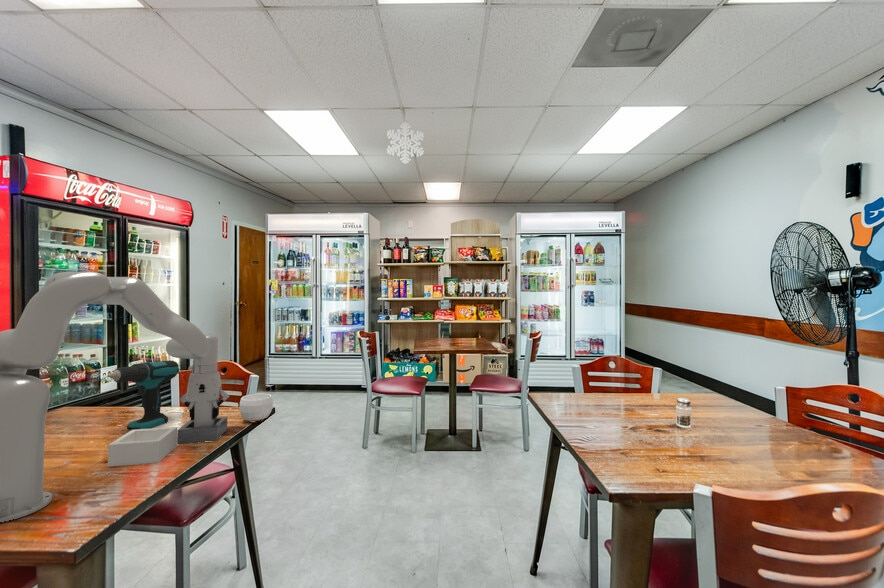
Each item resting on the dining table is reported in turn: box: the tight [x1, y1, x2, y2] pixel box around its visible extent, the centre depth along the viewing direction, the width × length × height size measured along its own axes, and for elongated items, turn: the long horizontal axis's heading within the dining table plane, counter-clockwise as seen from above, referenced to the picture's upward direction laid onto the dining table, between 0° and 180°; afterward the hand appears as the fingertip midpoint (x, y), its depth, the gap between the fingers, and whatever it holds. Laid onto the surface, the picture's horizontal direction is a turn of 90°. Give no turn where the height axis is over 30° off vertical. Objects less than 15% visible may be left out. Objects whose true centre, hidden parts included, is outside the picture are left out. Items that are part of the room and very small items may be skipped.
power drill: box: [106, 360, 180, 430], centre depth 144 cm, size 26×9×25 cm, turn 168°
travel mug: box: [194, 384, 215, 428], centre depth 135 cm, size 6×7×20 cm
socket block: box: [177, 416, 228, 445], centre depth 135 cm, size 12×12×5 cm
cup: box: [239, 392, 274, 422], centre depth 154 cm, size 12×12×10 cm
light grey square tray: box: [107, 426, 179, 468], centre depth 119 cm, size 13×13×6 cm
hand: (204, 418), depth 135 cm, fingers closed on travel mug, 6 cm apart
